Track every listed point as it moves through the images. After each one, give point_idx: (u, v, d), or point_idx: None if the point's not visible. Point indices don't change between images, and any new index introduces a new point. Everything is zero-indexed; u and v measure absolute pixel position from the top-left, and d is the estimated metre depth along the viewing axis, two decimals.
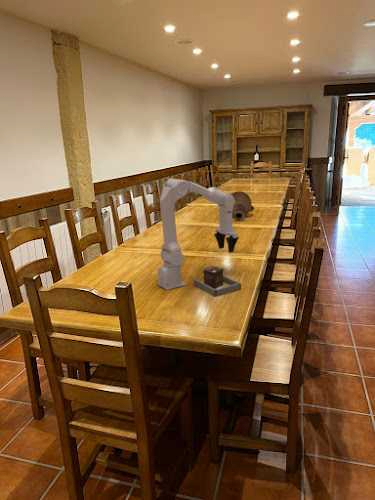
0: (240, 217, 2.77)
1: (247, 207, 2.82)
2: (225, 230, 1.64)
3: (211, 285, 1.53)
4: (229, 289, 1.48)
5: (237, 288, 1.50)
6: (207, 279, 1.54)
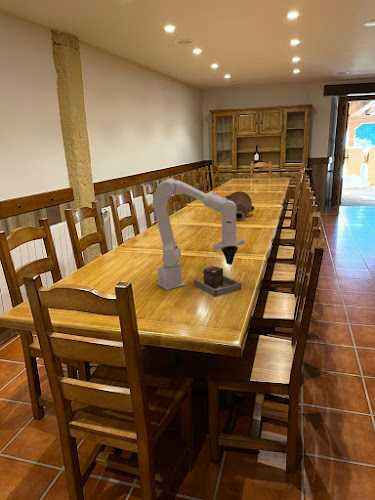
0: (240, 217, 2.76)
1: (247, 207, 2.81)
2: (222, 240, 1.51)
3: (211, 285, 1.53)
4: (229, 289, 1.48)
5: (237, 288, 1.50)
6: (207, 279, 1.54)
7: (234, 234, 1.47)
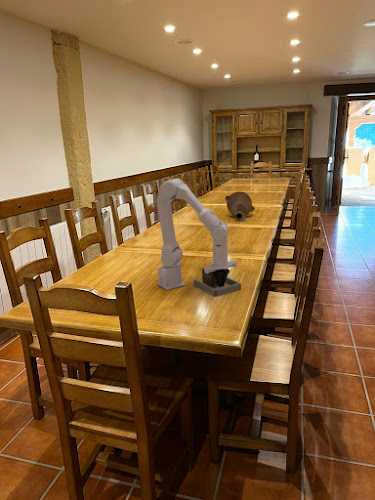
0: (240, 217, 2.76)
1: (247, 207, 2.81)
2: (213, 263, 1.49)
3: (209, 284, 1.54)
4: (229, 289, 1.48)
5: (237, 288, 1.50)
6: (206, 278, 1.55)
7: (225, 257, 1.46)
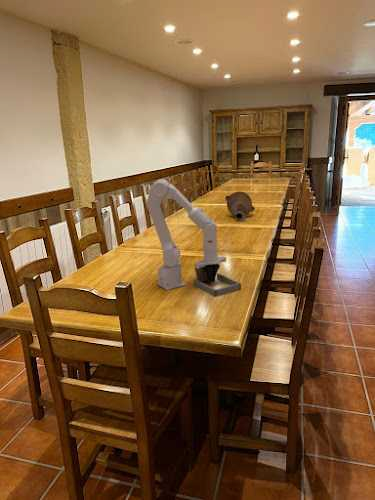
0: (240, 217, 2.76)
1: (247, 207, 2.81)
2: None
3: (201, 278, 1.59)
4: (229, 289, 1.48)
5: (237, 288, 1.50)
6: (198, 273, 1.60)
7: (215, 253, 1.52)
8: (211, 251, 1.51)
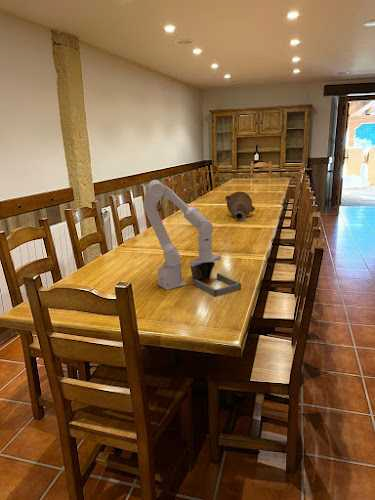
0: (240, 217, 2.75)
1: (248, 207, 2.80)
2: (199, 256, 1.58)
3: (196, 276, 1.62)
4: (229, 289, 1.48)
5: (237, 288, 1.50)
6: (193, 271, 1.63)
7: (210, 251, 1.55)
8: (206, 249, 1.54)
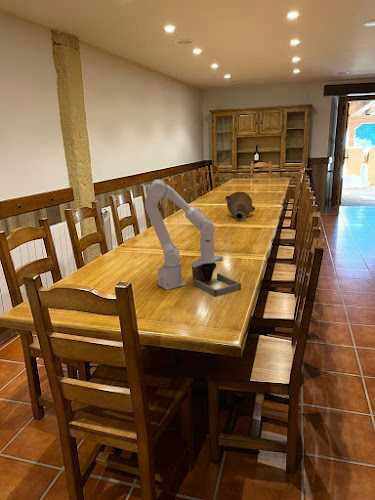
0: (240, 217, 2.75)
1: (248, 207, 2.80)
2: None
3: (197, 277, 1.62)
4: (229, 289, 1.48)
5: (237, 288, 1.50)
6: (194, 272, 1.62)
7: (212, 252, 1.54)
8: (208, 250, 1.53)
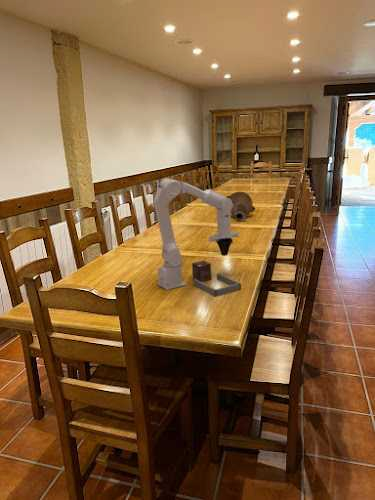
0: (241, 218, 2.75)
1: (248, 208, 2.80)
2: (217, 233, 1.63)
3: (197, 278, 1.62)
4: (229, 289, 1.48)
5: (237, 288, 1.50)
6: (195, 272, 1.62)
7: (228, 227, 1.59)
8: (225, 225, 1.58)
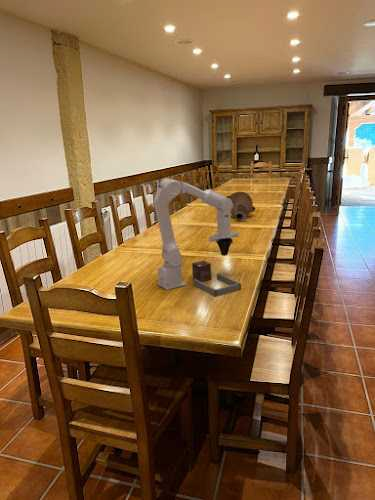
0: (241, 218, 2.74)
1: (248, 208, 2.79)
2: (217, 233, 1.63)
3: (197, 278, 1.62)
4: (229, 289, 1.48)
5: (237, 288, 1.50)
6: (195, 272, 1.62)
7: (228, 227, 1.59)
8: (225, 225, 1.58)
